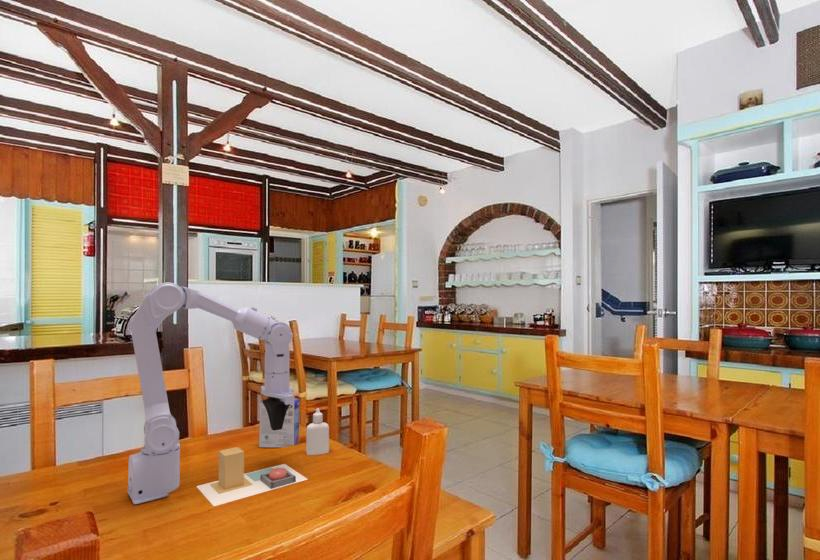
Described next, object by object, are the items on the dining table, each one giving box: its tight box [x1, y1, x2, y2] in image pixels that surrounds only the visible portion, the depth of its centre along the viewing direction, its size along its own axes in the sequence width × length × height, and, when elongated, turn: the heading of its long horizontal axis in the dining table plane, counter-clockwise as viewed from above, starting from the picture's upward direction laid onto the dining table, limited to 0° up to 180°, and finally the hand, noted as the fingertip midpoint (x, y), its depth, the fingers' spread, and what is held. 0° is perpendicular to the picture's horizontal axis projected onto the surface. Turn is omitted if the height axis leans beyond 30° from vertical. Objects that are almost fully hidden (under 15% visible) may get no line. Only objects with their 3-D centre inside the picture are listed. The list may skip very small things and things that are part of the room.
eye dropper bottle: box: [305, 407, 330, 456], centre depth 120 cm, size 4×6×12 cm
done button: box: [269, 468, 287, 481], centre depth 102 cm, size 4×4×2 cm
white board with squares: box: [196, 463, 308, 507], centre depth 101 cm, size 20×12×2 cm, turn 130°
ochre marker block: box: [218, 446, 245, 490], centre depth 100 cm, size 4×4×7 cm
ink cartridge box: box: [258, 398, 300, 449], centre depth 128 cm, size 10×6×14 cm, turn 89°
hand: (276, 429), depth 111 cm, fingers closed
